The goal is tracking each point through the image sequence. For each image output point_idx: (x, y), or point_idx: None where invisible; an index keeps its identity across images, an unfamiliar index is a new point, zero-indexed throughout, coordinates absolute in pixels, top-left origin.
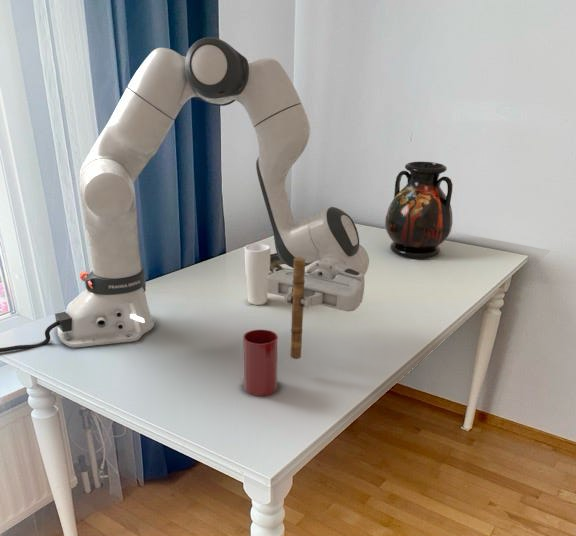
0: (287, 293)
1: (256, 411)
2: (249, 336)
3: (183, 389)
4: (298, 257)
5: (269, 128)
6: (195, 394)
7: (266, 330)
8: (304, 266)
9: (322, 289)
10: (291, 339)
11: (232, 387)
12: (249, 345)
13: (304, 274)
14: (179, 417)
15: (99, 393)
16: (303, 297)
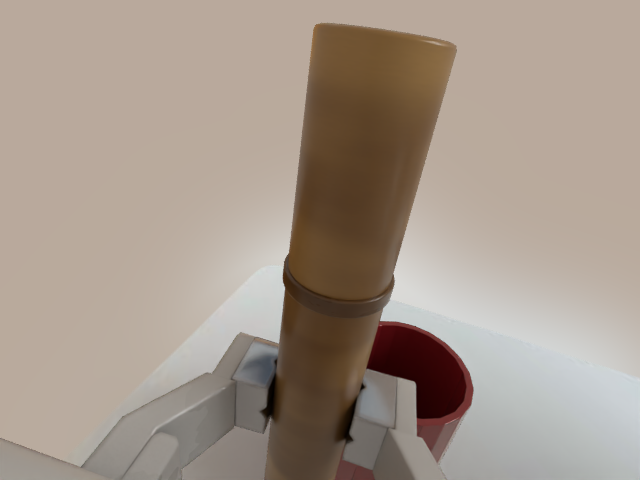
0: (414, 404)
1: None
2: (459, 403)
3: (526, 427)
4: (422, 36)
5: None
6: (486, 412)
7: (417, 419)
8: (305, 111)
9: (66, 471)
10: None
11: None
12: (412, 333)
13: (294, 204)
14: (449, 339)
15: (634, 381)
16: (274, 362)
